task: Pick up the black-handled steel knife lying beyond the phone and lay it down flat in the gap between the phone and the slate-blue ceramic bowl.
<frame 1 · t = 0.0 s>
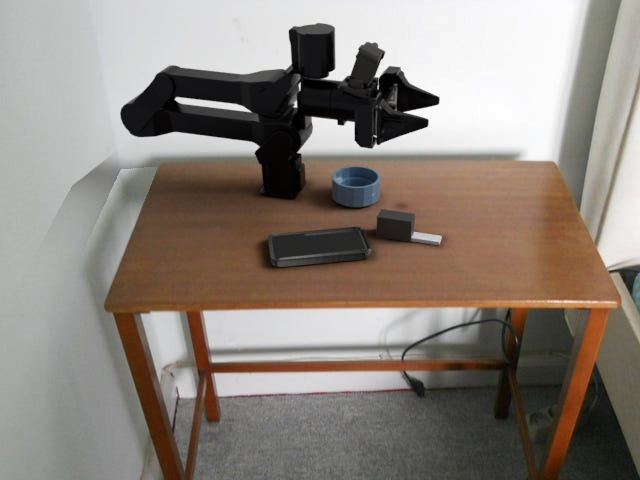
hand: (434, 111, 102), 17 cm above the table, tool horizontal, fingers open, 9 cm apart
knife: (409, 237, 106), on the table
phone: (319, 250, 103), on the table
bowl: (355, 198, 115), on the table
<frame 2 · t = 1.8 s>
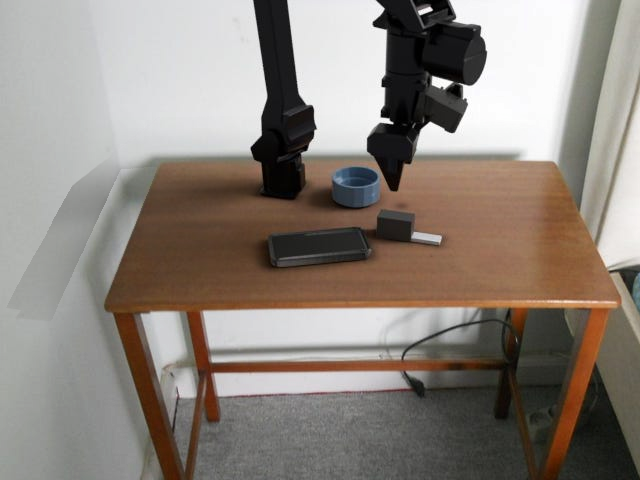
hand: (401, 176, 100), 10 cm above the table, tool pointing down, fingers open, 9 cm apart
nothing on the table moved.
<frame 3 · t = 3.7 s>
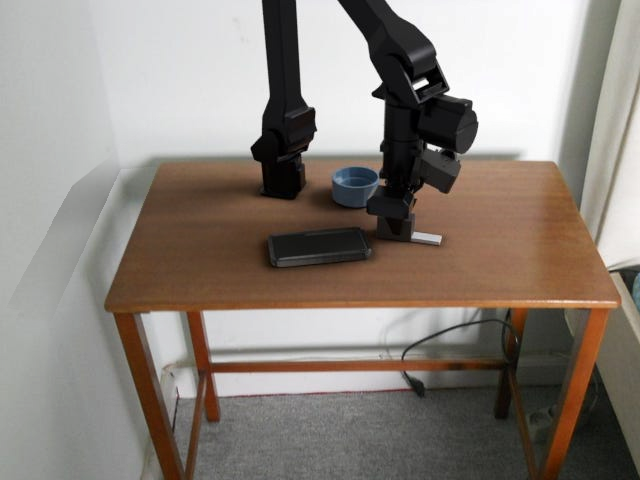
hand: (398, 230, 106), 1 cm above the table, tool pointing down, fingers closed on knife, 2 cm apart
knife: (409, 237, 106), on the table, touching gripper
everything else where it was.
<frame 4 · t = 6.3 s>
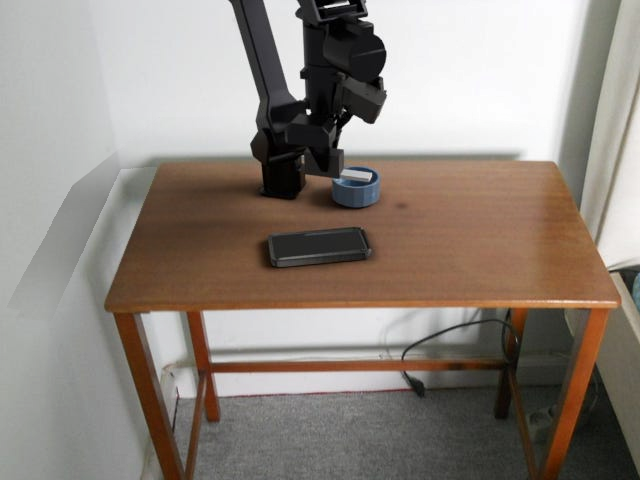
hand: (327, 167, 102), 10 cm above the table, tool pointing down, fingers closed on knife, 2 cm apart
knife: (338, 175, 102), point 9 cm above the table, touching gripper
everything else where it was.
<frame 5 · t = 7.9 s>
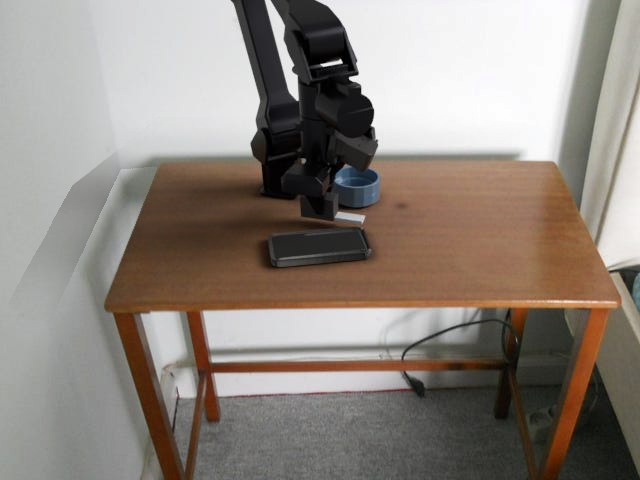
hand: (322, 210, 107), 3 cm above the table, tool pointing down, fingers closed on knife, 2 cm apart
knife: (333, 217, 107), point 2 cm above the table, touching gripper
everything else where it was.
when the fingers open (1 cm above the table, at t = 8.8 s): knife stays where it is, on the table.
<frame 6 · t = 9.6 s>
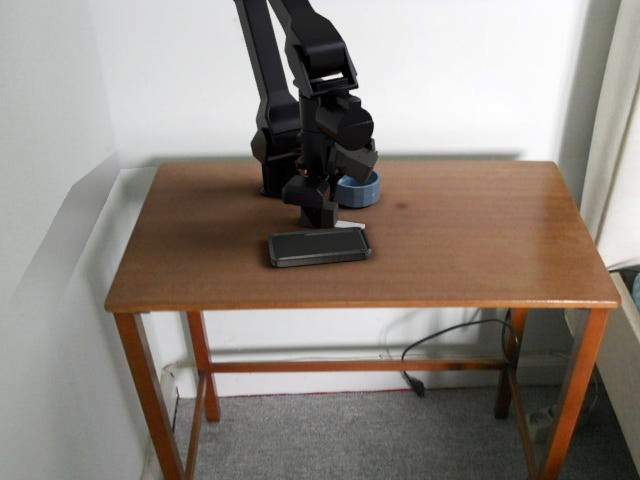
hand: (322, 220, 108), 1 cm above the table, tool pointing down, fingers open, 5 cm apart
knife: (333, 226, 108), on the table
everything else where it was.
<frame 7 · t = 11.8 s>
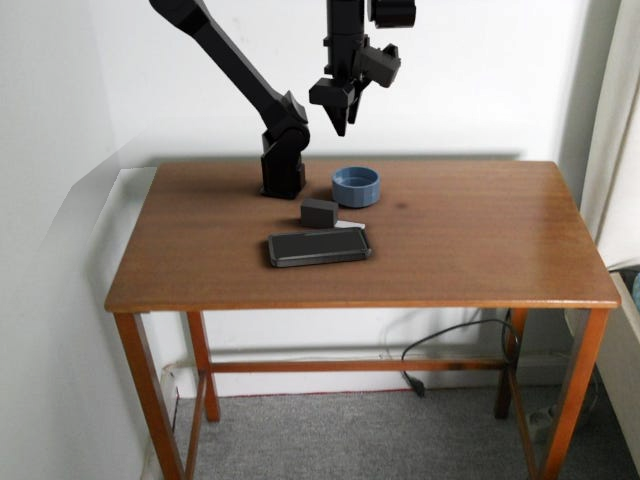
hand: (346, 130, 112), 10 cm above the table, tool pointing down, fingers open, 5 cm apart
nothing on the table moved.
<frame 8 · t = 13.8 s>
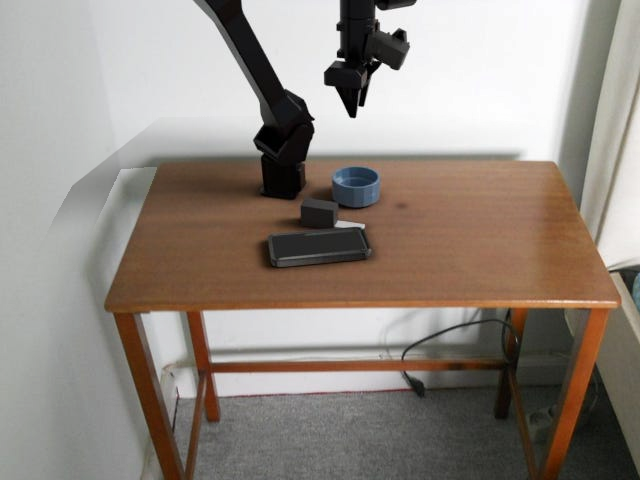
hand: (357, 112, 117), 10 cm above the table, tool pointing down, fingers open, 5 cm apart
nothing on the table moved.
at the end: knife 0.0 cm from the target spot, on the table; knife tilted 0°; phone moved 0.0 cm from its start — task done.
